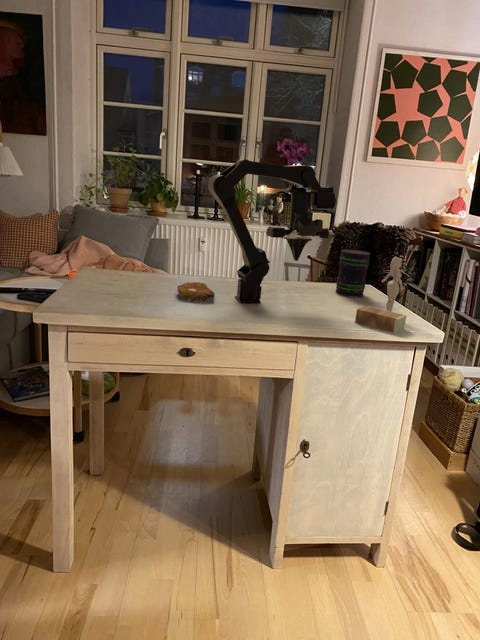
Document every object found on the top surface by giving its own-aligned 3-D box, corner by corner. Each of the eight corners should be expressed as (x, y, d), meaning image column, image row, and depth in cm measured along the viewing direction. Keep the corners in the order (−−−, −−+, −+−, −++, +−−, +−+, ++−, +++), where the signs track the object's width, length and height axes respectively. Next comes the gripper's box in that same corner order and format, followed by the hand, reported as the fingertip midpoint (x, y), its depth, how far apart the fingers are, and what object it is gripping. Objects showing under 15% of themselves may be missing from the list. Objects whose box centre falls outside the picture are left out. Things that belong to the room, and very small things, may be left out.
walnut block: (357, 309, 141) (398, 319, 134) (365, 305, 145) (406, 315, 139) (354, 322, 142) (396, 333, 135) (363, 319, 147) (404, 329, 140)
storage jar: (369, 296, 177) (376, 253, 172) (350, 298, 171) (357, 254, 166) (347, 289, 184) (353, 248, 180) (329, 291, 178) (335, 249, 174)
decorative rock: (172, 291, 160) (180, 306, 147) (172, 279, 159) (180, 292, 145) (208, 290, 163) (218, 304, 150) (208, 278, 162) (219, 291, 148)
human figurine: (403, 322, 146) (415, 261, 141) (391, 322, 145) (402, 260, 140) (383, 311, 157) (393, 254, 152) (372, 311, 156) (382, 253, 151)
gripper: (281, 209, 141) (278, 265, 145) (340, 211, 147) (335, 264, 151) (267, 207, 151) (264, 259, 155) (323, 209, 157) (318, 259, 161)
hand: (296, 260), depth 155 cm, fingers closed
